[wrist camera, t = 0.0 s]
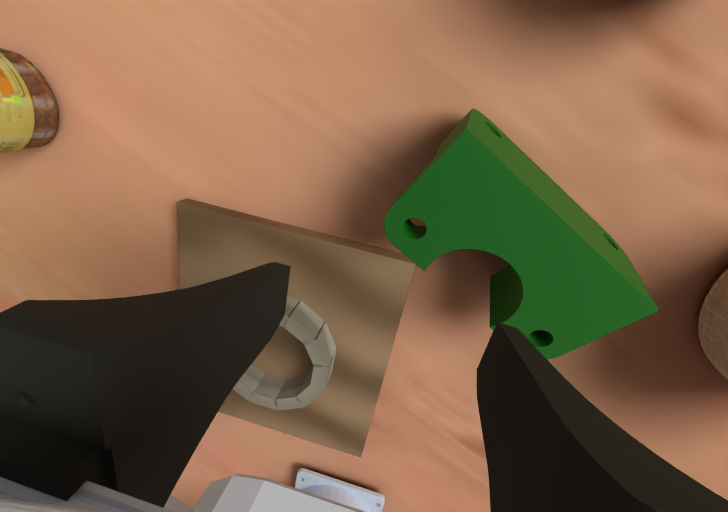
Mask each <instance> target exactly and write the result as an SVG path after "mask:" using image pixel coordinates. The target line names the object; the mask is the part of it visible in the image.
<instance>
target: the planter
mask: <svg viewBox="0 0 728 512" xmlns="http://www.w3.org/2000/svg"><path fill="white" fill-rule="evenodd" d="M698 336H699V341H700V344H701V347H702V349H703V351H704V353H705V354H706V356H707V357H708V359H709V360H710V361H711V363H712V364H713V365H714V367H715V368H716V369H717V370H718V371H719V372H720V373H721V374H722V375H723V376H724V377H725V378H726V379H727V380H728V268H727V269H726V270H725V271H724V272H723V273H722V274H721V275H720V276H719V277H718V279H717V280H716V281H715V282H714V284H713V285H712V287H711V288H710V290H709V291H708V293H707V295H706V297H705V299H704V301H703V303H702V306H701V309H700V313H699V318H698Z"/></svg>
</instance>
